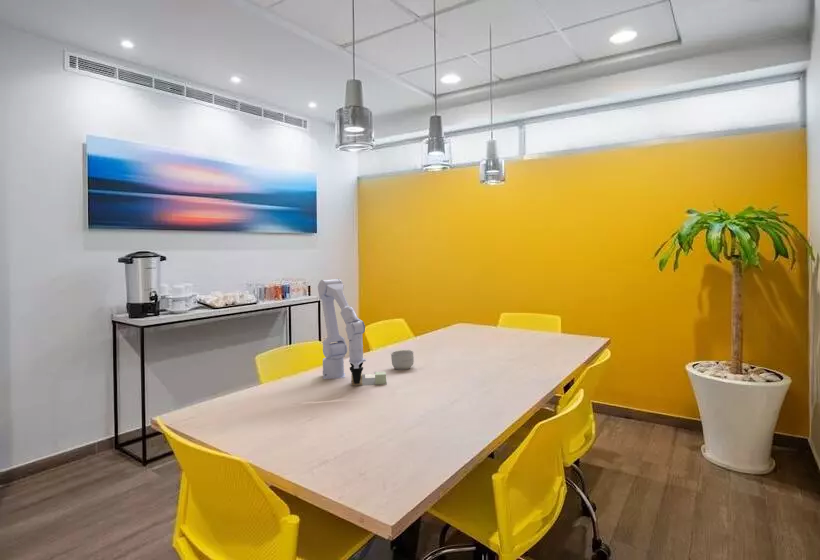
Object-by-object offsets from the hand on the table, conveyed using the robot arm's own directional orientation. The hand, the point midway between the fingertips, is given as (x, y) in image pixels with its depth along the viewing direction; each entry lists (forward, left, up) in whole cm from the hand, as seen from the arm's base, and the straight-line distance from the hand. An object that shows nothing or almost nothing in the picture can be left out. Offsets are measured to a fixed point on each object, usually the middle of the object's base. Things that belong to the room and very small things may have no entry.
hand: (357, 381), depth 201 cm
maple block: (0, 0, -1) cm, 1 cm away
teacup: (+22, +24, -2) cm, 33 cm away
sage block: (+10, 0, -1) cm, 10 cm away
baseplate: (+5, +6, -2) cm, 8 cm away
